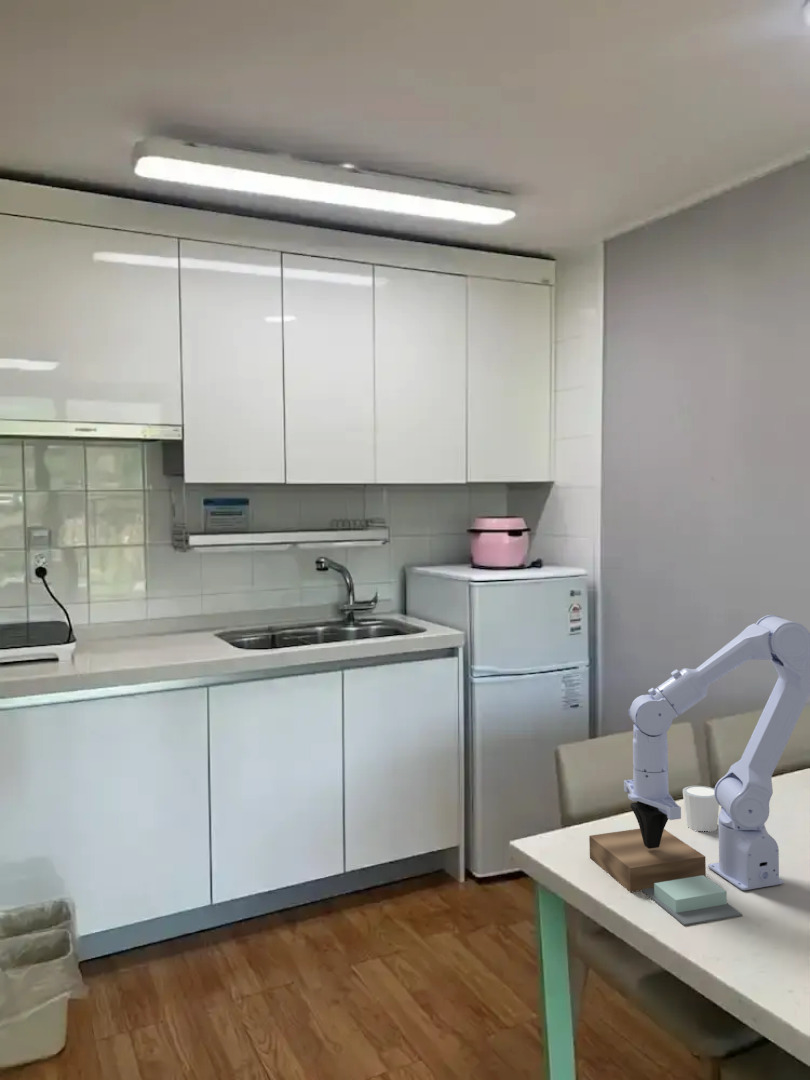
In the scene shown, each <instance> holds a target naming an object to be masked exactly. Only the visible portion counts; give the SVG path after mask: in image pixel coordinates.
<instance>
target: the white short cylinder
mask: <svg viewBox="0 0 810 1080" xmlns="http://www.w3.org/2000/svg"><path fill="white" fill-rule="evenodd" d="M714 789H715V787H711V786H710V787H709V786H706V785H704V786H703V785H690V786H686V787H684V788H683V789H682V797H683V806H684V815H685V816H684V817H685V825H687V826H688V827H689V828H690V830H691V829H693V830H692V831H694V830H696V831H695V832H698V831H703V832H702V833H705V832H704V831H708V832H707V833H710V832H709V831H712V832H715V831H717V830H716V829H718V824H719V823H718V821H719V819H718V816H719V811H720V805H719V804H718V802H717V801H716V799H715V795H714ZM687 826H686V827H687ZM688 827H687V828H688ZM689 828H688V829H689ZM714 830H715V831H714Z"/></svg>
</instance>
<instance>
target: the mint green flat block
mask: <svg viewBox="0 0 810 1080" xmlns="http://www.w3.org/2000/svg"><path fill="white" fill-rule="evenodd" d="M654 896H656V897H657V898H658V899H659V900H661V901H662V902H663V903H664V904H666V905H667V906H668V907H669V908H670V909H672V910H673V911H674V912H675V913H679V912H684V911H690V910H696V909H701V908H707V907H713V906H718V905H724V904H727V903H728V902H727V901H728V899H727V898H728V897H727V896H728V893H727V890H725V889H724V888H723V887H721V886H720V885H718V884H716V883H715V882H714V881H712V880H711V879H710V878H708V877H705V876H704V875H701V876H695V877H689V878H683V879H677V880H671V881H665V882H659V883H654Z"/></svg>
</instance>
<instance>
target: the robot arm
mask: <svg viewBox="0 0 810 1080" xmlns="http://www.w3.org/2000/svg"><path fill="white" fill-rule="evenodd" d="M751 660H763V661H764V660H769V661H770V662H771V663H772V666H773V667H774V669H775V671H776V674H777V677H778V678H777V680H776V683H775V684H774V686H773V689H772V691H771V693H770V694H769V698H768V700H767V702H766V704H765V706H764V708H763V710H762V713H761V714H760V716H759V719H758V721H757V723H756V725H755V728H754V730H753V732H752V734H751V736H750V738H749V740H748V742H747V743H746V747H745V749H744V751H743V753H742V755H741V757H740V759H739V760H737V761H736V762H734V763H732V764H731V765H730V767H729V769H728V771H727V773H725V775H724V776H722V777H721V778H720V779H718V781H717V782H716V784H715V786H714V795H715V799H716V801H717V802H718V804H719V807H721V808H720V812H719V813H718V823H717V824H718V862H713V863H708V864H707V867H708V869H711V870H712V872H715V873H716V874H717V875H719V876H720V877H722V878H723V879H725V880H727V881H728V883H731V884H732V885H734V886H735V887H736V888H738V889H739V890H741V891H747V890H748V891H749V890H755V889H760V888H765V887H772V886H779V885H783V884H784V879H781V878H780V866H779V865H780V862H779V861H780V857H779V855H780V854H779V851H780V850H779V846H778V843H777V840H776V839H775V838H774V837H772V836H771V834H769V832H768V831H767V829H766V825H765V824H766V823H767V821H768V819H769V816H770V803H771V802H770V801H771V798H772V796H773V793H774V792H773V791H774V790H773V782H772V780H773V779H772V776H773V774H774V772H775V770H776V767H777V766H778V764H779V762H780V759H781V757H782V755H783V753H784V751H785V749H786V747H787V744H788V742H789V740H790V738H791V736H792V734H793V731H794V729H795V727H796V725H797V723H798V721H799V718H800V716H801V715H802V713H803V711H804V708H805V706H806V704H807V701H808V699H809V698H810V631H809V630H808V629H807V627H806V626H805V625H804V624H801V623H800V622H796V621H791V620H789V619H785V618H783V616H779V615H776V614H768V615H765V616H763V617H761V618H759V619H758V620H757V621H756V623H752V624H749V625H748V626H746V628H745V629H743V630H742V631H741V632H740V633H739V634H738V635H737V636H735V637H734V638H733V639H731V641H729V642H728V643H726V645H724V646H722V648H720V649H719V650H718V651H716V652H715V653H714V654H713V655H711V656H710V657H709V658H708V659H707V660H705V661H704V662H703V663H702V664H700V665H699V666H698V667H696V668H687V667H686V668H682V669H681V670H678V669H674V670H672V672H670V675H671V677H669V678H668V679H667V680H666V681H664V682H663V683H661V684H660V685H657V686H656V687H655V688H654V687H651V688H649V689H648V691H647V692H648V693H649V694H642V695H639V696H637V697H636V698H635V699H634V700H633V701H632V702H631V705H630V707H629V709H628V716H629V718H630V720H631V721H632V722H633V725H632V726H633V728H632V729H633V731H632V735H633V736H632V737H633V738H632V769H633V770H632V773H633V775H632V779H625V780H623V791H624V792H626V793H627V799H629V800H630V801H631V803H630V809H631V810H632V812H633V814H634V816H635V818H636V820H637V823H638V826H639V829H640V830H641V834H642V838H643V842H644V845H645V846H646V847H647V848H649V849H651V848H657V847H659V845H660V842H661V837H662V834H663V830H664V829H665V827H666V825H667V823H668V821H669V820H670V821H673V820H674V821H675V820H680V819H682V807H681V806H680V805H678V804H677V802H676V801H675V800H674V798H673V797H672V795H671V794H670V793H669V789H670V788H669V786H670V785H669V743H668V731H669V730H670V728H671V727H672V725H673V720H674V719H676V718H678V717H680V715H682V714H683V713H685V712H686V711H687V710H689V709H691V708H693V706H695V705H697V704H698V703H699V702H700V701H702V700H703V699H705V698H706V697H707V696H708V691H709V686H710V685H711V684H713V683H715V682H716V681H718V680H720V679H722V677H724V676H726V675H727V674H729V673H730V672H732V671H734V670H735V669H738V668H739V667H740V666H741V665H743V664H745V663H746V662H748V661H751Z"/></svg>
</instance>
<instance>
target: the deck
mask: <svg viewBox="0 0 810 1080" xmlns="http://www.w3.org/2000/svg"><path fill="white" fill-rule="evenodd" d="M588 840H589V858H590V859H591V860H592V861H593V862H594V863H595V864H596V865H598V866H599V867H600V868H601V869H602V870H604V871H605V872H606V873H607V874H608V875H610V876H611V877H612V878H613V879H614V880H616V881H617V882H618V884H620V885H621V886H622V887H624V889H626V890H627V891H628V892H629V893H634V892H635V893H636V892H643V891H642V889H647V888H653V887H654V883H659V882H665V881H671V880H677V879H683V878H689V877H695V876H701V875H704V876H705V877H706V876H707V873H706V872H707V870H706V865H707V864H706V855H704V854H702V853H701V852H700V851H698V850H696V849H694V848H693V847H692V846H690V845H689V844H687V843H686V842H684V841H683V840H682V839H679V838H678V837H677V836H675V835H673V834H672V833H671V832H670V831H668V830H666V829H665V828H664V830H663V834H662V837H661V842H660V845H659V847H657V848H651V849H649V848H647V847H646V846H645V845H644V842H643V838H642V834H641V830H640V828H634V829H626V830H620V831H612V832H605V833H601V834H600V833H599V834H591V835H589V839H588ZM706 878H707V877H706Z"/></svg>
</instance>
